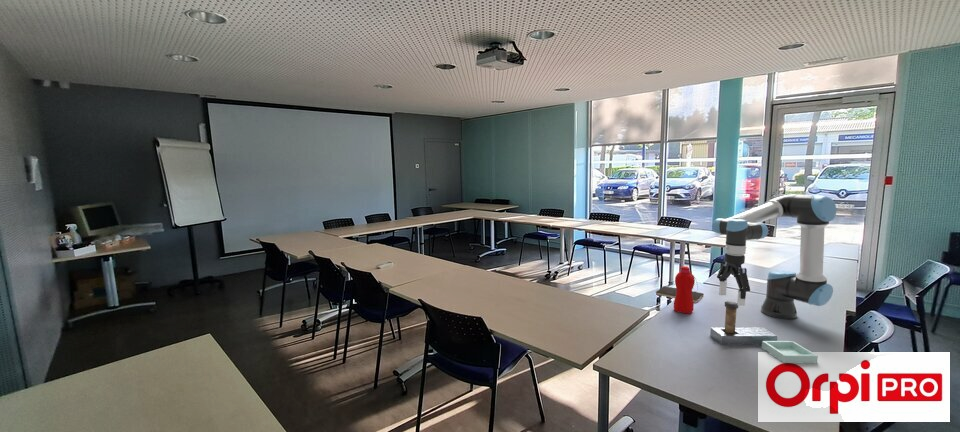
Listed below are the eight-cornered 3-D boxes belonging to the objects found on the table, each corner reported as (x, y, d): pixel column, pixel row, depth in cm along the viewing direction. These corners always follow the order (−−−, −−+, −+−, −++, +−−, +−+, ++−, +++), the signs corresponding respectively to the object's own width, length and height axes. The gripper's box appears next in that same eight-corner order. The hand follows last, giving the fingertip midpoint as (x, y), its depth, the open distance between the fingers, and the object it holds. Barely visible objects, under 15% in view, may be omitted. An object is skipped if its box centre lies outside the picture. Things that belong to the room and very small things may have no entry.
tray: (792, 347, 166) (792, 341, 166) (817, 362, 153) (817, 355, 153) (761, 347, 167) (762, 341, 166) (783, 362, 154) (784, 355, 154)
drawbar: (762, 335, 178) (763, 327, 178) (776, 344, 169) (777, 336, 169) (710, 335, 179) (710, 327, 179) (721, 344, 170) (721, 336, 170)
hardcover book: (696, 303, 221) (696, 300, 221) (655, 295, 237) (655, 291, 237) (703, 296, 233) (703, 293, 233) (663, 289, 248) (663, 285, 248)
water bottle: (695, 316, 203) (697, 270, 199) (672, 311, 209) (674, 267, 206) (697, 310, 210) (700, 266, 207) (675, 306, 216) (677, 263, 213)
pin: (731, 337, 177) (733, 301, 175) (738, 342, 172) (741, 305, 170) (719, 337, 177) (722, 301, 175) (726, 342, 172) (729, 305, 170)
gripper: (710, 248, 182) (707, 290, 185) (744, 260, 157) (740, 310, 160) (726, 248, 182) (723, 291, 184) (762, 260, 157) (758, 310, 160)
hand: (731, 299), depth 172 cm, fingers open, 13 cm apart
